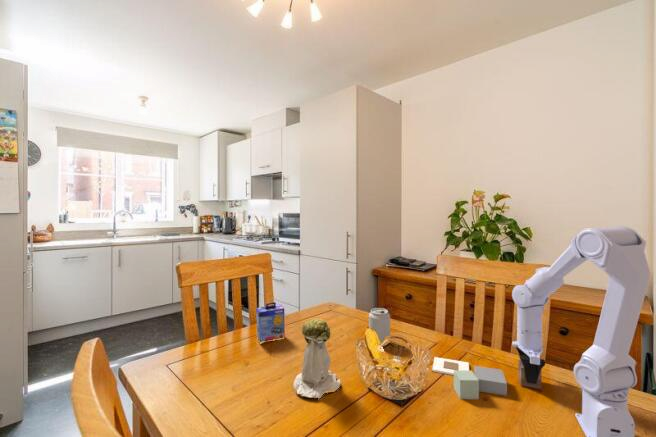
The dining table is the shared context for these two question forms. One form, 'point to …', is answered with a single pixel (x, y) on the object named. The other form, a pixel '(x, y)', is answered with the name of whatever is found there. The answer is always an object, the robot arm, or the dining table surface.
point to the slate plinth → (491, 380)
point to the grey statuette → (315, 362)
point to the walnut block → (523, 379)
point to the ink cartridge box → (270, 322)
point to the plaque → (448, 365)
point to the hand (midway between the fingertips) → (529, 377)
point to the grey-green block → (466, 384)
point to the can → (380, 322)
